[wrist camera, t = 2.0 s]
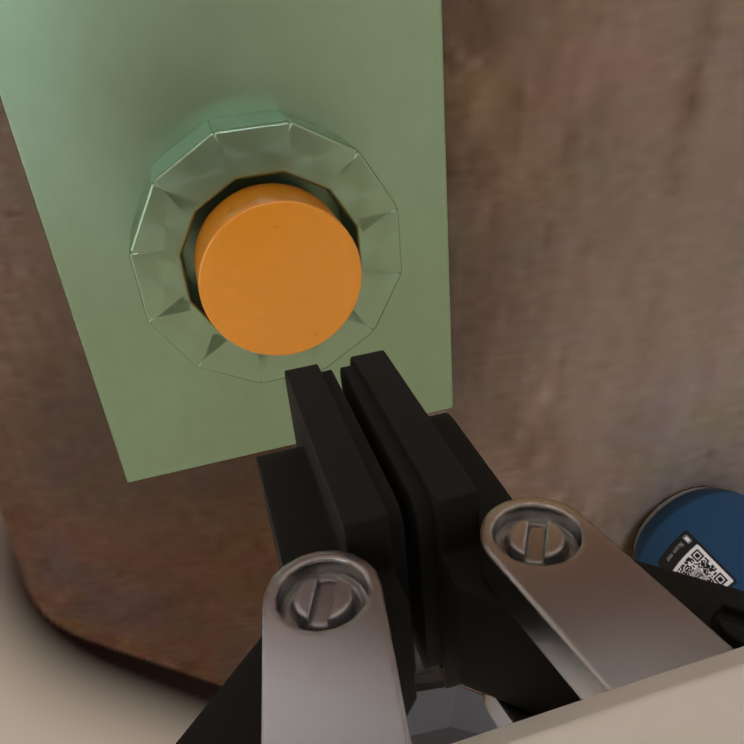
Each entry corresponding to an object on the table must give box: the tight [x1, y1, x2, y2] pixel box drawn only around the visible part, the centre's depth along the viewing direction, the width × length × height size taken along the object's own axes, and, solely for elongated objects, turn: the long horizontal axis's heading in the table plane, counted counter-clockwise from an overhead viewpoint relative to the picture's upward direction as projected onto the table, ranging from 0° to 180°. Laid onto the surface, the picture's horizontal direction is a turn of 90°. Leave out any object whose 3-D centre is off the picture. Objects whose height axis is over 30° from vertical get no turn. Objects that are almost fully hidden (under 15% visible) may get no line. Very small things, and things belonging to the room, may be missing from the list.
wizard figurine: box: [407, 645, 498, 744], centre depth 26 cm, size 8×6×12 cm
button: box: [194, 183, 362, 356], centre depth 18 cm, size 4×4×2 cm
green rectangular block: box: [0, 0, 453, 482], centre depth 20 cm, size 14×11×5 cm
